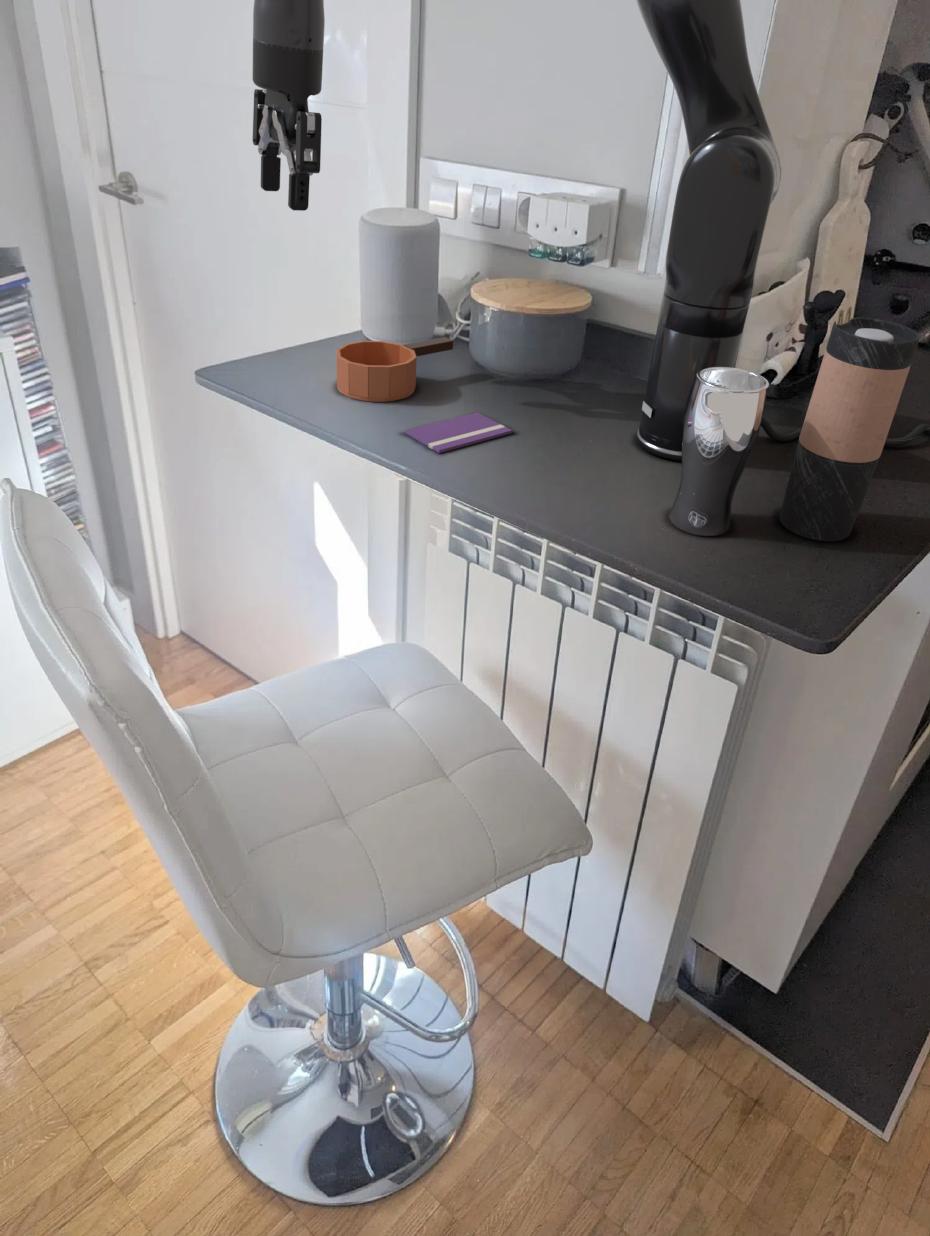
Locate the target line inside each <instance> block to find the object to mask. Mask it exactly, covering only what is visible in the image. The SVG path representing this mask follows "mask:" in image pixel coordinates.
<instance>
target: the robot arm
mask: <svg viewBox="0 0 930 1236" xmlns="http://www.w3.org/2000/svg"><path fill="white" fill-rule="evenodd" d="M635 1H636V5H637V7H638V10H639V12H640V15H641V18H642V20H643V23H644V25H645V28H646V30H647V32H648V34H649V37H650V38H651V41H652V43H653V45H654V47H655V49H656V51H657V54H658V55H659V58H660V59H661V62H662V64H663V65H664V67H665V70H666V72H667V74H668V76H669V78H670V80H671V82H672V85H673V88H674V91H675V92H676V93H675V94H676V96H677V100H678V102H679V103H678V104H679V106H680V111H681V116H682V120H683V124H684V129H685V133H686V134H685V135H686V140H687V141H686V142H687V146H688V147H687V148H688V153H689V155H688V158H687V159H686V161H685V163H684V164H683V167H682V170H681V172H680V173H681V174H680V176H679V180H678V182H677V183H678V184H677V188H676V193H675V198H674V205H673V211H672V216H671V223H670V224H671V225H670V230H669V236H668V242H667V249H666V256H665V280H664V281H665V282H664V288H663V292H662V293H663V294H662V299H661V304H660V311H659V316H658V321H657V326H656V333H655V339H654V344H653V350H652V354H651V360H650V366H649V371H648V377H647V383H646V388H645V394H644V399H643V401H642V407H641V416H640V421H639V427H638V429H637V433H636V438H635V441H636V444H637V445H638V446H639V447H640V448H641V449H643V450H644V451H646V452H647V453H648V454H649V453H650V454H651V455H654V456H657V457H659V458H664V459H667V460H672V461H680V462H682V440H683V428H684V423H685V417H686V412H687V408H688V404H689V400H690V397H691V393H692V390H693V387H694V384H695V380H696V376H697V372H698V371H699V370H701V369H703V368H707V367H733V368H737V367H736V364H737V360H738V355H739V353H740V352H739V351H740V347H741V343H742V338H743V335H744V330H745V325H746V320H747V318H748V317H747V316H748V313H749V308H750V305H751V304H750V303H751V300H752V296H753V292H754V287H755V282H756V272H757V264H758V260H759V254H760V251H761V247H762V241H763V237H764V233H765V229H766V225H767V220H768V215H769V213H770V212H769V211H770V207H771V205H772V203H773V202H774V200H775V198H776V196H777V194H778V192H779V188H780V185H781V181H782V164H781V157H780V154H779V151H778V149H777V145H776V143H775V141H774V137H773V134H772V132H771V128H770V126H769V123H768V120H767V118H766V114H765V112H764V108H763V104H762V103H761V99H760V95H759V93H758V90H757V86H756V83H755V80H754V76H753V72H752V69H751V64H750V59H749V54H748V47H747V40H746V31H745V24H744V17H743V9H742V4H741V3H742V2H741V0H635ZM252 12H253V13H252V82H253V84H254V85H255V86H256V87H258V88H259V89H258V88H255V89H254V91H253V110H252V111H253V112H252V113H253V114H252V119H253V120H252V144H253V145H254V146H257V151H258V152H257V153H258V154H259V155H261V156H260V188H261V190H263V191H264V192H279V191H280V189H281V168H282V167H281V166H282V165H281V161H282V158H281V157H279V156H281V154H282V155H283V156H285V157H286V161H287V166H288V170H289V174H288V192H287V193H288V196H287V206H288V208H289V209H290V210H292V211H298V212H299V211H300V212H301V211H302V212H303V211H307V210H308V209H309V200H310V199H309V197H310V179H311V176H313V174H320V173H321V158H322V157H321V154H322V121H323V120H322V114H321V113H320V112H313V111H309V101H308V100H309V97H310V96H317V95H319V94H320V93H321V92H322V88H323V87H322V82H323V67H324V65H323V63H324V46H325V25H326V24H325V23H326V21H325V20H326V19H325V17H326V16H325V3H324V0H254V1H253V11H252ZM929 427H930V424H929V423H927V422H925V423H920V424H919V425H917V426H916V427H915V428H914V429H913V430H912V431H910V432H909V433H908V434H906V435H905V436H902V437H899V438H898V437H897V438H888V437H887V438H886V441H885V444H884V447H900V446H904V445H906V444H909V443H911V442H913V441H914V440H915V439H916V438H918V437H919V436H920V435H922V433H923V432H924V434H925V435H927V436H930V429H929V430H926V429H927V428H929ZM760 428H762V430H763V431H764V433H765V434H766V435H767V437H769V438H770V439H772V440H774V441H777V442H782V443H784V442H791V441H794V440H795V439H799V437H800V434H801V430H802V427H800V428H797V429H795V430H794V431H792V432H789V433H780V432H777V431H776V430H775V429H774V428H773V426H772V424H771V423H770V422H769V421H768V420H767V419H766V418H765V417H764V416H763V418H762V423H761V427H760ZM924 430H925V431H924ZM918 435H919V436H918ZM915 436H918V437H916V438H915V439H912V440H907V441H891V440H906V439H909V438H914V437H915ZM888 440H889V441H888Z"/></svg>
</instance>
